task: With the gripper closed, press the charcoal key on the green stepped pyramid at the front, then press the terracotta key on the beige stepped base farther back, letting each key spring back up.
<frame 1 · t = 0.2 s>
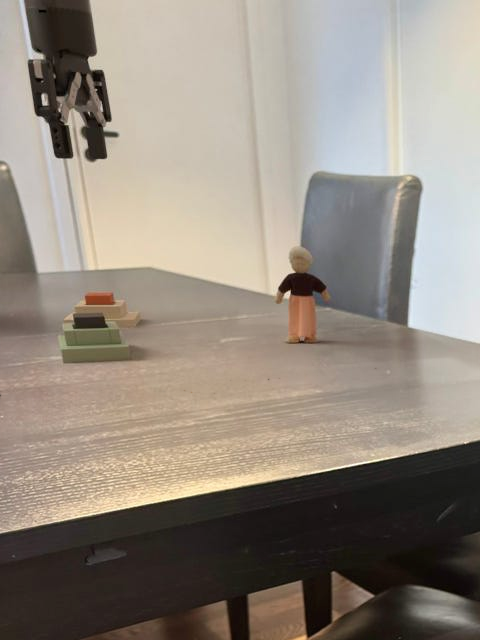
hand: (82, 158, 118), 23 cm above the table, tool pointing down, fingers open, 8 cm apart
green stepped pyramid: (94, 353, 119), on the table
beige stepped base: (103, 323, 140), on the table
key front: (89, 322, 117), point 4 cm above the table, slide at 0.1 cm
grandmother figurine: (305, 342, 131), on the table
key back: (100, 300, 139), point 3 cm above the table, slide at 0.1 cm
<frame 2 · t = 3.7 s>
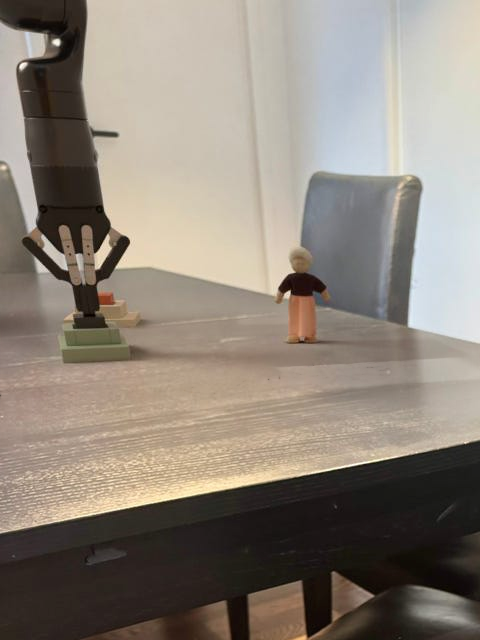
hand: (89, 315, 116), 5 cm above the table, tool pointing down, fingers closed
key front: (89, 322, 117), point 4 cm above the table, slide at 0.0 cm, touching gripper
everything else where it was.
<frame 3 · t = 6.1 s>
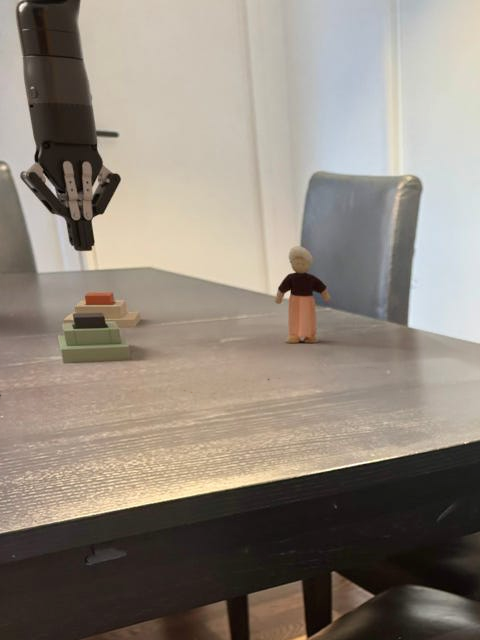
hand: (83, 250, 122), 12 cm above the table, tool pointing down, fingers closed
key front: (89, 322, 117), point 4 cm above the table, slide at 0.1 cm
everything else where it was.
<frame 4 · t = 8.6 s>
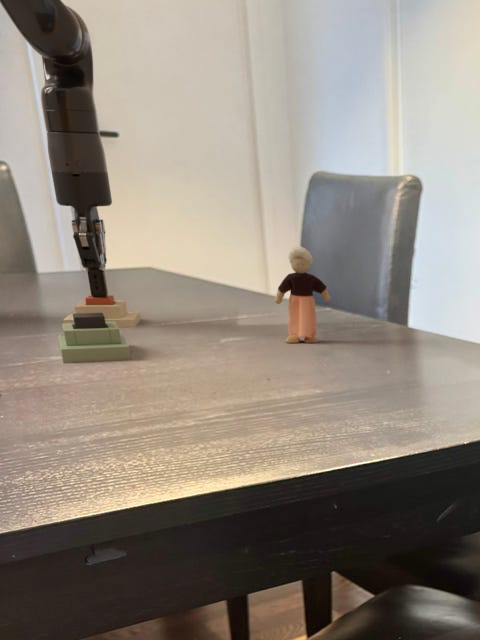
hand: (100, 296, 139), 4 cm above the table, tool pointing down, fingers closed
key back: (100, 303, 139), point 3 cm above the table, slide at -0.3 cm, touching gripper
everything else where it was.
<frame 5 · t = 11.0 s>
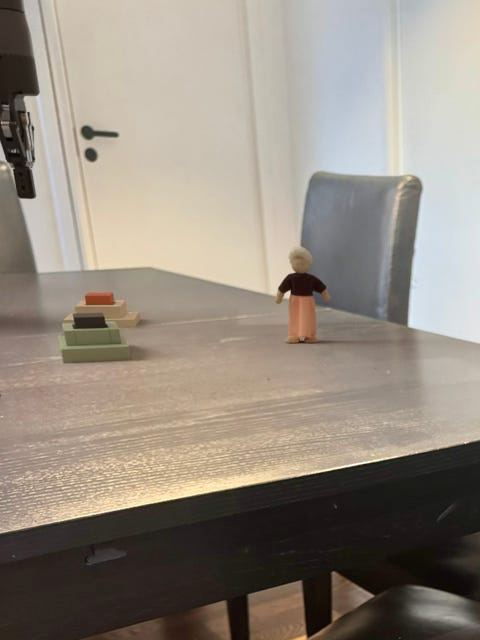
hand: (27, 198, 128), 17 cm above the table, tool pointing down, fingers closed
key back: (100, 300, 139), point 3 cm above the table, slide at 0.1 cm
everything else where it was.
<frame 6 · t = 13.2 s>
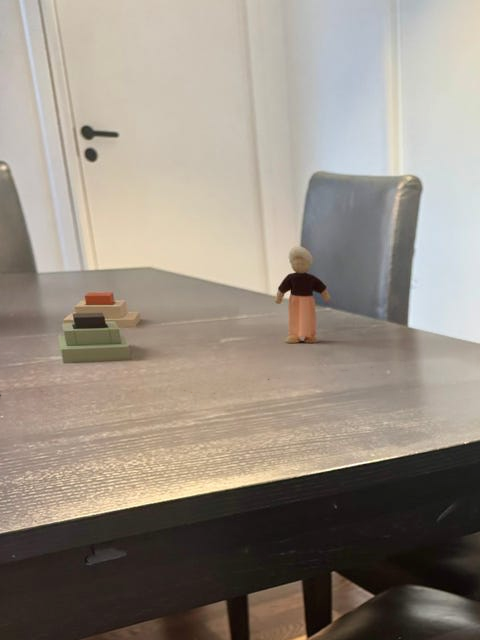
nothing on the table moved.
at the end: key front pushed in 1.1 cm at the most during the clip, back to where it started at the end; key back pushed in 1.1 cm at the most during the clip, back to where it started at the end; key back slide at 0.1 cm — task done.
